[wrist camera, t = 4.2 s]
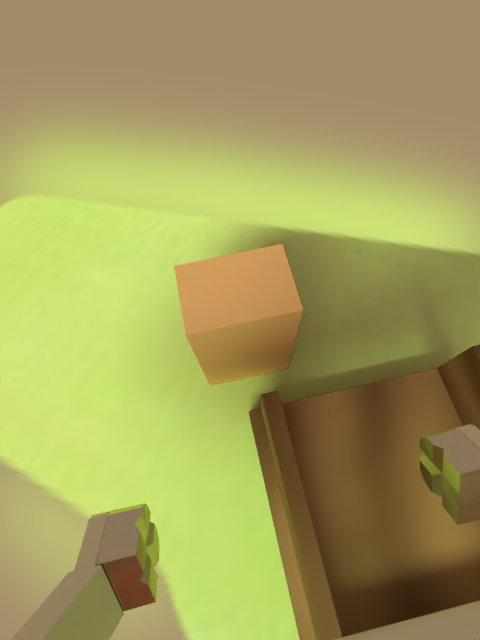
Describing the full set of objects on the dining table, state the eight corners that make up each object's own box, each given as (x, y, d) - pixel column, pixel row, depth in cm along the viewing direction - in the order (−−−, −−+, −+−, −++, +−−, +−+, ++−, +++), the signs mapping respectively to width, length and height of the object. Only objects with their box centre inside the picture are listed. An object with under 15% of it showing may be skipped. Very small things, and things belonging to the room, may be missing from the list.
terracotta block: (273, 320, 25) (282, 243, 17) (287, 368, 24) (303, 309, 16) (200, 336, 25) (174, 266, 17) (210, 385, 24) (186, 335, 16)
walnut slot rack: (451, 368, 24) (500, 339, 19) (554, 593, 19) (654, 631, 14) (249, 414, 23) (247, 397, 18) (304, 660, 18) (321, 723, 14)
